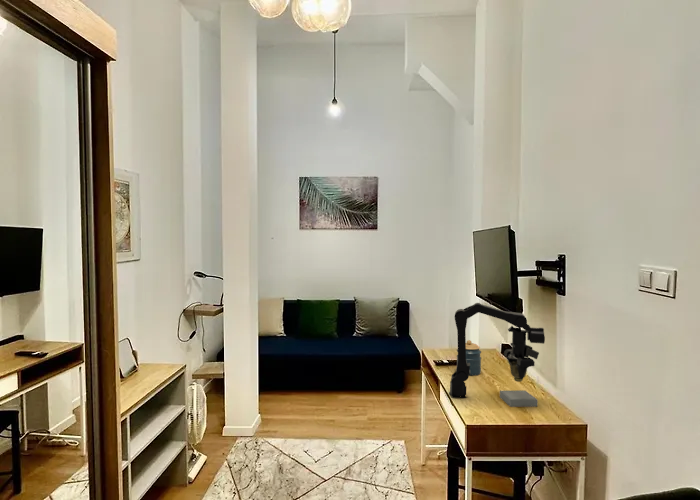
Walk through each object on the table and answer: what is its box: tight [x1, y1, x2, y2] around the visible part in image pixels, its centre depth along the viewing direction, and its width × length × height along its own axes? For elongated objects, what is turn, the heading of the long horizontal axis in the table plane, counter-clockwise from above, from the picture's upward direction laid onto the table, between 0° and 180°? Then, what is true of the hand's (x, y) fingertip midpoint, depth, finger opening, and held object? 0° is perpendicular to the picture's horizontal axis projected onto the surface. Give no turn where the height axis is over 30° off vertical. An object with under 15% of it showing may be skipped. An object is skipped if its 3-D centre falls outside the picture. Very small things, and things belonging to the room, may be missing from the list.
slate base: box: [499, 389, 539, 408], centre depth 199 cm, size 12×12×3 cm
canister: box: [456, 339, 482, 376], centre depth 244 cm, size 13×13×18 cm
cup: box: [509, 361, 528, 383], centre depth 199 cm, size 8×7×8 cm
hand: (518, 376), depth 199 cm, fingers closed on cup, 6 cm apart
